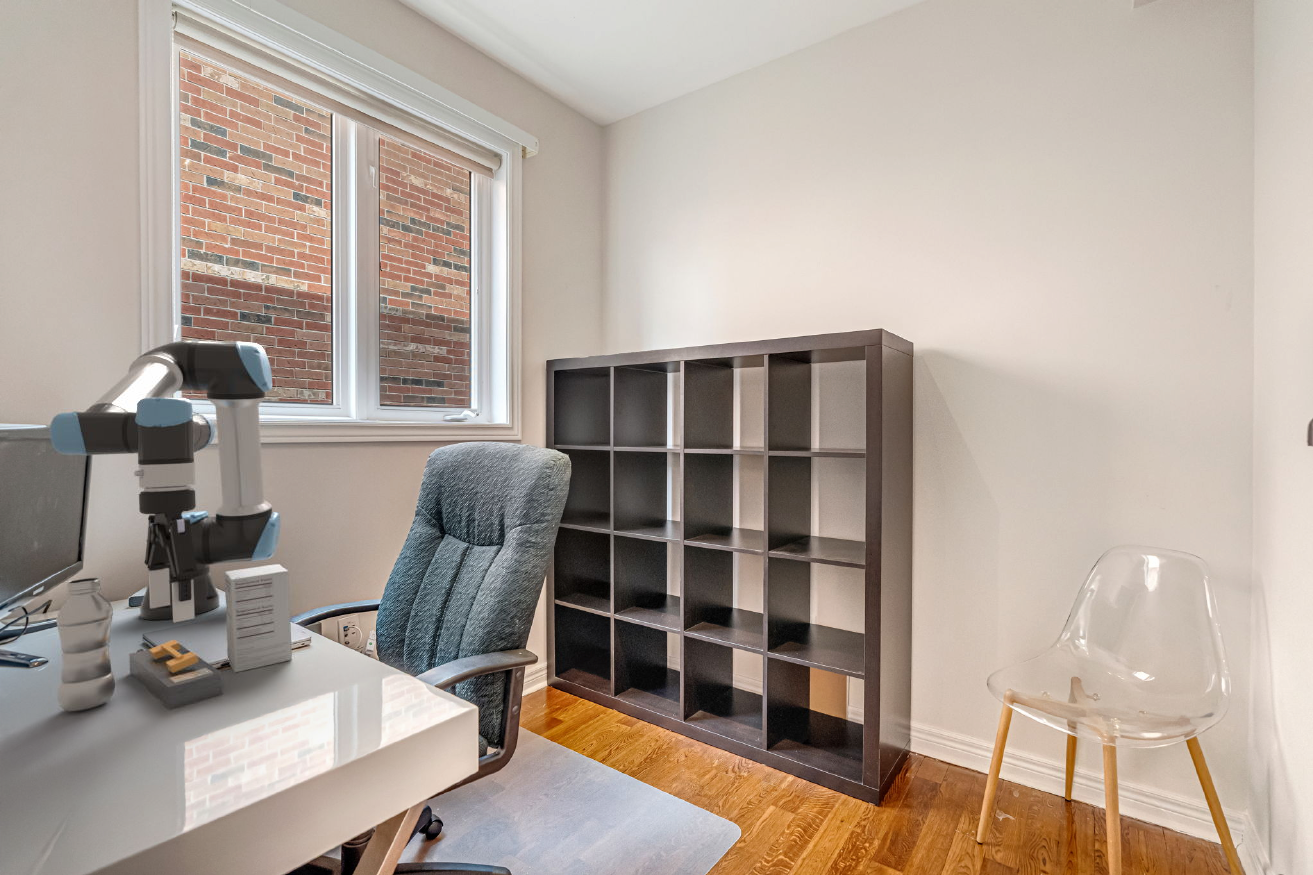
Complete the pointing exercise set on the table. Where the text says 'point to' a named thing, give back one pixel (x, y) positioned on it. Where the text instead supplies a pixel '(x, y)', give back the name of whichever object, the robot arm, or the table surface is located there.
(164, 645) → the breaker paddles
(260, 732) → the table surface
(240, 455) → the robot arm
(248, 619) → the supplement box
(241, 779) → the table surface
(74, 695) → the plastic bottle
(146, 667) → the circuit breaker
